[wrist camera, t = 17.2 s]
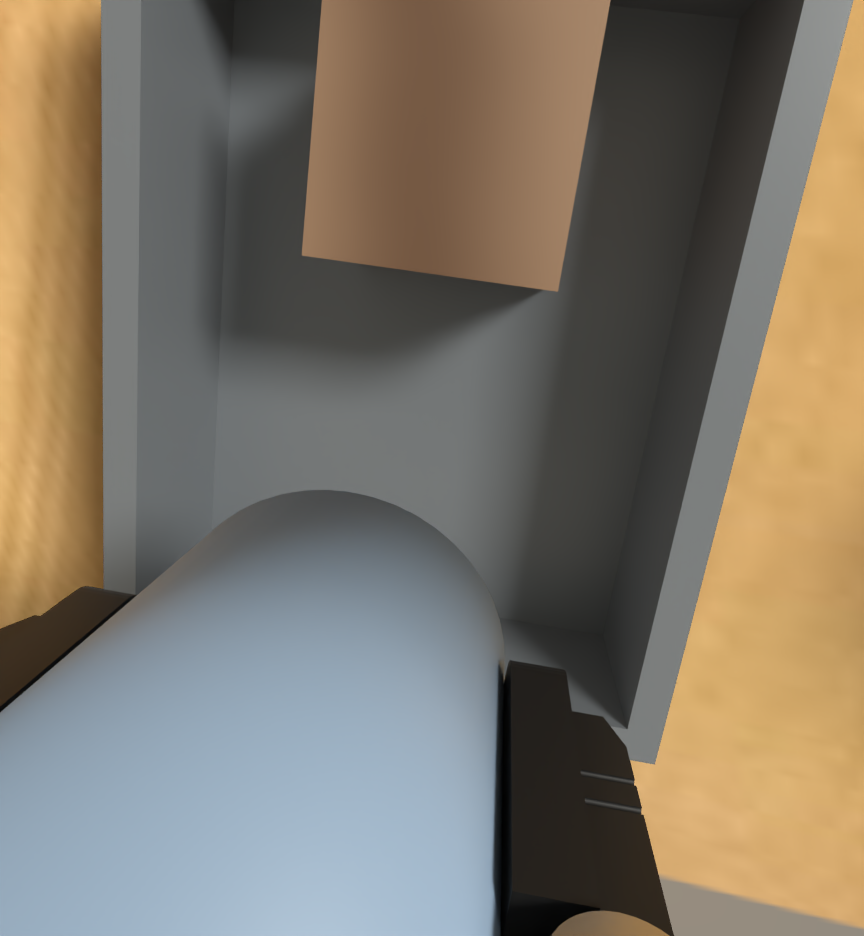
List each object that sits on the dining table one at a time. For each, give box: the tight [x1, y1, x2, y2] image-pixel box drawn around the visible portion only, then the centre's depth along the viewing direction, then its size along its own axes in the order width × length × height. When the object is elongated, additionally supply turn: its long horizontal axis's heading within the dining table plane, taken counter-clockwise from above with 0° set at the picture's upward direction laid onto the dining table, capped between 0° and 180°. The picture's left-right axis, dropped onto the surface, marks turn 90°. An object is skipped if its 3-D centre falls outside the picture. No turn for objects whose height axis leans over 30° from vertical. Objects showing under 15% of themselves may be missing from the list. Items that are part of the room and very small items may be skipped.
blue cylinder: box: [0, 490, 505, 936], centre depth 7 cm, size 5×5×7 cm
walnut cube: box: [302, 0, 611, 292], centre depth 15 cm, size 5×5×5 cm
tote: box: [101, 0, 853, 764], centre depth 17 cm, size 14×18×5 cm
